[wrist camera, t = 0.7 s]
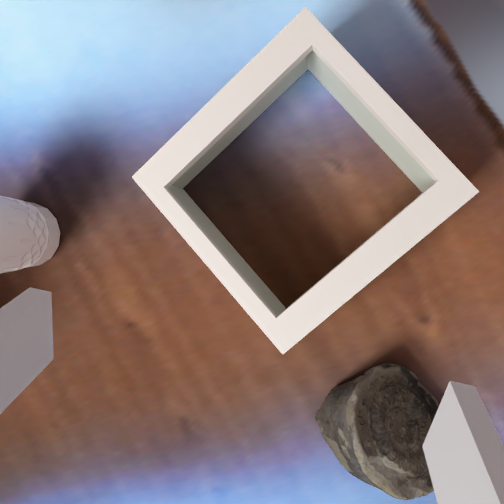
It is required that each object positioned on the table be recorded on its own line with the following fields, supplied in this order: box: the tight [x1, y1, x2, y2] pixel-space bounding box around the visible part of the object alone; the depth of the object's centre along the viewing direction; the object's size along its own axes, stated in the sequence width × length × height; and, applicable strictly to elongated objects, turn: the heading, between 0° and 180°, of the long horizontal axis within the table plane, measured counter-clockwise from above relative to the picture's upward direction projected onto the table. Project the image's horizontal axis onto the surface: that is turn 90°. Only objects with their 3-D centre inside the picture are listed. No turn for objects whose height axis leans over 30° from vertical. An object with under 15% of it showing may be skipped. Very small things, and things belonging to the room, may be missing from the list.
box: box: [132, 7, 479, 354], centre depth 37 cm, size 19×19×8 cm
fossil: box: [315, 363, 439, 500], centre depth 38 cm, size 11×9×10 cm
